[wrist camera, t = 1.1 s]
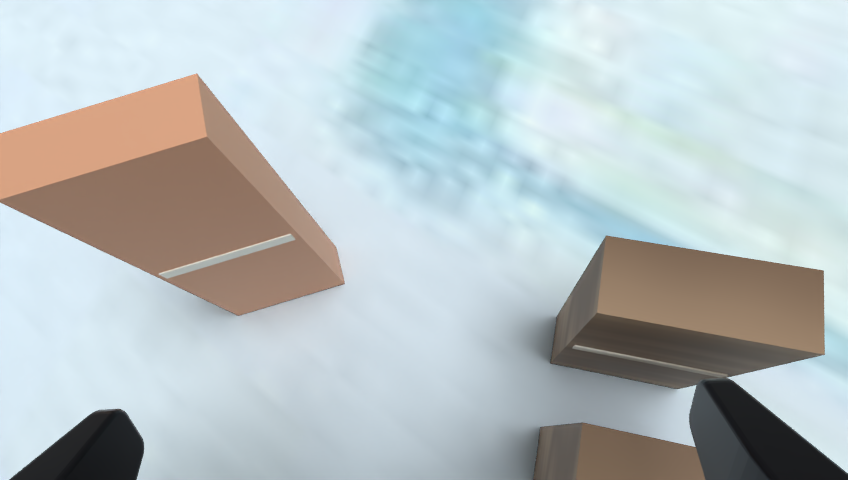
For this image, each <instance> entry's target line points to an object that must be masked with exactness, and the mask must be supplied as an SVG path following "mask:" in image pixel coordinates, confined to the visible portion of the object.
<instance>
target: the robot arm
mask: <svg viewBox="0 0 848 480" xmlns="http://www.w3.org/2000/svg"><path fill="white" fill-rule="evenodd" d="M689 423H690V429H691V432H692V436H693V439H694V443H695V446H696V449H697V453H698V456H699V460H700V463H701V466H702V470H703V473H704V477H705V480H848V473H846V472H845V471H844V470H843V469H841V468H840V467H839V466H838V465H837V464H835V463H834V462H833V461H832V460H830V459H829V458H828V457H827V456H825V455H824V454H823V453H822V452H820V451H819V450H818V449H817V448H816V447H814V446H813V445H812V444H811V443H809V442H808V441H807V440H806V439H804V438H803V437H802V436H801V435H799V434H798V433H797V432H796V431H795V430H793V429H792V428H791V427H790V426H788V425H787V424H786V423H785V422H783V421H782V420H781V419H780V418H778V417H777V416H776V415H775V414H773V413H772V412H771V411H770V410H769V409H767V408H766V407H765V406H764V405H762V404H761V403H760V402H759V401H757V400H756V399H755V398H754V397H752V396H751V395H750V394H749V393H748V392H746V391H745V390H744V389H743V388H741V387H740V386H739V385H738V384H736V383H735V382H734V381H732V380H730V379H728V378H709V379H701V380H700V381H699V382H698V383H697V386H696V390H695V394H694V398H693V402H692V406H691V409H690V414H689ZM143 454H144V442H143V439H142V437H141V435H140V434H139V432H138V430H137V429H136V427H135V426H134V424H133V423H132V421H131V419H130V418H129V416H128V415H127V413H126V412H125V411H123V410H121V409H107V410H98V411H95V412H93V413H92V414H90V415H89V416H88V417H86V418H85V419H84V420H83V421H81V422H80V423H79V424H78V425H76V426H75V427H74V428H73V429H71V430H70V431H69V432H68V433H66V434H65V435H64V436H63V437H62V438H60V439H59V440H58V441H57V442H55V443H54V444H53V445H52V446H50V447H49V448H48V449H47V450H45V451H44V452H43V453H42V454H40V455H39V456H38V457H37V458H36V459H34V460H33V461H32V462H31V463H29V464H28V465H27V466H26V467H24V468H23V469H22V470H21V471H19V472H18V473H17V474H16V475H15V476H13V477H12V478H11V479H10V480H137V476H138V472H139V469H140V465H141V461H142V458H143Z"/></svg>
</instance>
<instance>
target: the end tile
mask: <svg viewBox="0 0 848 480" xmlns="http://www.w3.org/2000/svg"><path fill="white" fill-rule="evenodd" d="M0 202H1V203H3V204H5V205H7V206H9V207H11V208H13V209H15V210H17V211H19V212H22V213H24V214H26V215H28V216H30V217H32V218H34V219H36V220H38V221H40V222H43V223H45V224H47V225H49V226H51V227H53V228H55V229H57V230H59V231H61V232H64V233H66V234H68V235H70V236H72V237H74V238H76V239H78V240H80V241H82V242H85V243H87V244H89V245H91V246H93V247H95V248H97V249H99V250H101V251H103V252H106V253H108V254H110V255H112V256H114V257H116V258H118V259H120V260H122V261H124V262H127V263H129V264H131V265H133V266H135V267H137V268H139V269H141V270H143V271H145V272H148V273H150V274H152V275H154V276H156V277H158V278H160V279H162V280H164V281H166V282H169V283H171V284H173V285H175V286H177V287H179V288H181V289H183V290H185V291H187V292H190V293H192V294H194V295H196V296H198V297H200V298H202V299H204V300H206V301H208V302H211V303H213V304H215V305H217V306H219V307H221V308H223V309H225V310H227V311H229V312H232V313H234V314H236V315H238V316H239V315H242V314H246V313H249V312H252V311H256V310H259V309H262V308H266V307H269V306H272V305H276V304H279V303H282V302H286V301H289V300H292V299H295V298H299V297H302V296H305V295H309V294H312V293H315V292H319V291H322V290H325V289H329V288H332V287H335V286H339V285H342V284H345V283H344V278H343V274H342V270H341V266H340V262H339V257H338V253H337V249H336V247H335V245H334V244H333V243H332V242H331V240H330V239H329V238H328V237H327V235H326V234H325V233H324V232H323V230H322V229H321V228H320V227H319V225H318V224H317V223H316V222H315V220H314V219H313V218H312V217H311V215H310V214H309V213H308V212H307V210H306V209H305V208H304V207H303V205H302V204H301V203H300V202H299V200H298V199H297V198H296V197H295V195H294V194H293V193H292V192H291V190H290V189H289V188H288V187H287V185H286V184H285V183H284V182H283V180H282V179H281V178H280V177H279V175H278V174H277V173H276V172H275V170H274V169H273V168H272V167H271V165H270V164H269V163H268V162H267V160H266V159H265V158H264V157H263V155H262V154H261V153H260V152H259V150H258V149H257V148H256V147H255V145H254V144H253V143H252V142H251V140H250V139H249V138H248V137H247V135H246V134H245V133H244V132H243V130H242V129H241V128H240V127H239V125H238V124H237V123H236V122H235V120H234V119H233V118H232V117H231V115H230V114H229V113H228V112H227V111H226V109H225V108H224V107H223V106H222V104H221V103H220V102H219V101H218V99H217V98H216V97H215V96H214V94H213V93H212V92H211V91H210V89H209V88H208V87H207V86H206V84H205V83H204V82H203V81H202V79H201V78H200V77H199V76H198V74H194V75H191V76H187V77H184V78H181V79H178V80H174V81H171V82H168V83H164V84H161V85H158V86H155V87H151V88H148V89H145V90H141V91H138V92H135V93H132V94H128V95H125V96H122V97H118V98H115V99H112V100H108V101H105V102H102V103H99V104H95V105H92V106H89V107H85V108H82V109H79V110H76V111H72V112H69V113H66V114H62V115H59V116H56V117H53V118H49V119H46V120H43V121H39V122H36V123H33V124H30V125H26V126H23V127H20V128H16V129H13V130H10V131H7V132H3V133H0Z"/></svg>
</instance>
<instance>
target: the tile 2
mask: <svg viewBox="0 0 848 480" xmlns="http://www.w3.org/2000/svg"><path fill="white" fill-rule="evenodd" d="M533 480H705V477H704V473H703V470H702V466H701V463H700V460H699V456H698V453H697V449H696V447H692V446H688V445H683V444H678V443H674V442H669V441H665V440H660V439H656V438H651V437H646V436H642V435H637V434H633V433H628V432H623V431H619V430H614V429H610V428H605V427H600V426H596V425H591V424H587V423H575V424H565V425H555V426H546V427H541V428H540V435H539V442H538V449H537V456H536V463H535V470H534V477H533Z"/></svg>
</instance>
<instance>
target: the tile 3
mask: <svg viewBox="0 0 848 480" xmlns="http://www.w3.org/2000/svg"><path fill="white" fill-rule="evenodd" d="M821 355H825V346H824V271H823V270H817V269H811V268H804V267H798V266H792V265H786V264H779V263H773V262H767V261H761V260H754V259H748V258H742V257H736V256H730V255H723V254H717V253H711V252H705V251H698V250H692V249H686V248H680V247H673V246H667V245H661V244H655V243H649V242H642V241H636V240H630V239H624V238H617V237H611V236H606V237H605V238H604V240H603V241H602V243H601V245H600V246H599V248H598V250H597V251H596V253H595V255H594V256H593V258H592V260H591V261H590V263H589V264H588V266H587V268H586V269H585V271H584V273H583V274H582V276H581V278H580V279H579V281H578V282H577V284H576V286H575V287H574V289H573V291H572V292H571V294H570V296H569V297H568V299H567V301H566V302H565V304H564V305H563V307H562V309H561V310H560V312H559V314H558V315H557V320H556V327H555V334H554V341H553V348H552V355H551V362H550V363H551V364H556V365H561V366H566V367H571V368H576V369H581V370H586V371H591V372H596V373H601V374H606V375H611V376H616V377H621V378H625V379H630V380H635V381H640V382H645V383H650V384H655V385H660V386H665V387H670V388H675V389H680V388H685V387H689V386H693V385H697V383H698V382H699V381H700V380H701V379H709V378H727V377H731V376H736V375H740V374H744V373H748V372H753V371H757V370H761V369H766V368H770V367H774V366H778V365H783V364H787V363H791V362H795V361H800V360H804V359H808V358H812V357H817V356H821Z"/></svg>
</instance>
